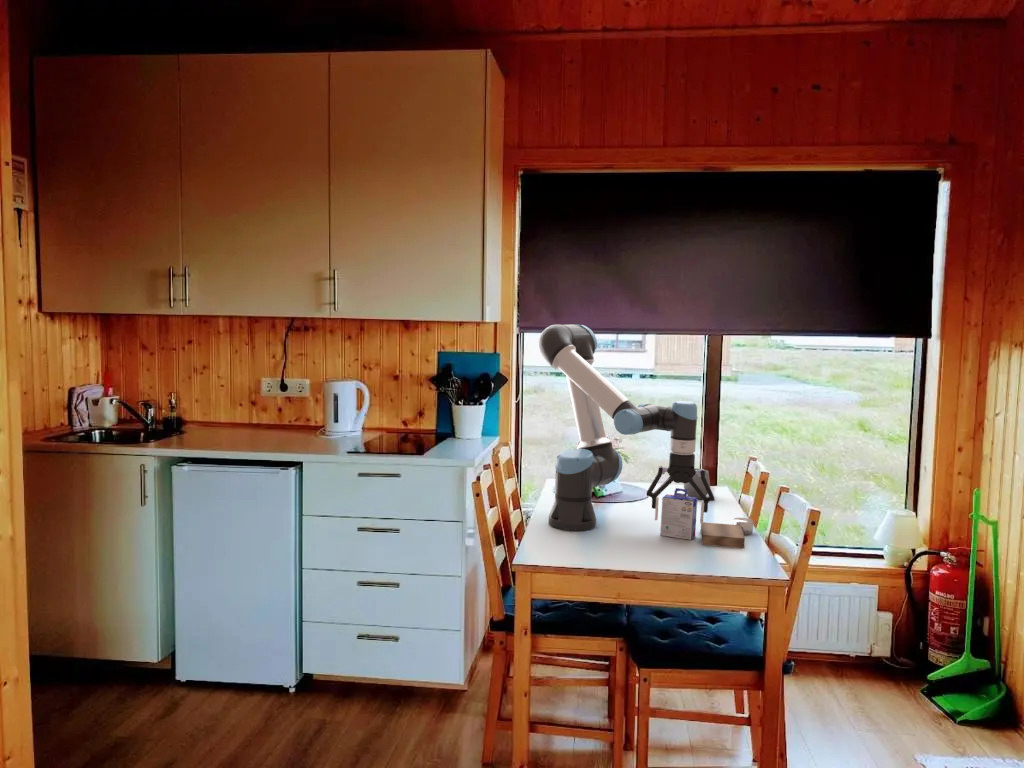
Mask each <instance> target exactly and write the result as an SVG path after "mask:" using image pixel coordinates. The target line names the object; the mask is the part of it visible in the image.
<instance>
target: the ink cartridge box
mask: <svg viewBox="0 0 1024 768" xmlns="http://www.w3.org/2000/svg"><path fill="white" fill-rule="evenodd" d="M681 492H683V493H681ZM697 508H698V499H697V498H695V497H688V495H687V489H684V488H677V487H675V490H674V494H665V495H664V496H663V497H662V499H661V516H660V517H661V520H660V534H659V535H660V536H663V537H669V538H676V539H683V540H689V541H691V540H693V539H694V538H695V537H696V531H697V530H696V529H697V528H696V526H697V511H698V509H697Z"/></svg>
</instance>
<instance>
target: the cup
mask: <svg viewBox="0 0 1024 768" xmlns="http://www.w3.org/2000/svg"><path fill="white" fill-rule="evenodd" d="M701 469H702V468H695V470H701ZM704 471H705V478H706V480H707V482H708V484H709V487H710V488H711V482H710V481H711V480H710V473H709V470H707V469H704ZM693 479H694V481H695V482H696V484H697V485H698V486H699V487H700V489H701V490H702V491H703V493H704V494H705V495H706V496H707V495H708V493H707V491H706V489H705V486H704V484H703V482H702V479H701V477H699V476H698V474H695V475H694V476H693ZM683 489H687V497H695V498H697V500H703V499H702V498H701V497H700V495H699V494H698V493H697V491H696V490H695V489H694V488H693V486H692V485H691V484H690V483H689V482H688V483H686V484H685V483H683Z"/></svg>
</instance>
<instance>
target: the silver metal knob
mask: <svg viewBox="0 0 1024 768" xmlns="http://www.w3.org/2000/svg"><path fill="white" fill-rule="evenodd" d="M732 525H741V528H742V531H743V534H744V536H751V535H753V532H754V520H753V519H752V518H747V517H734V518H733V523H732Z"/></svg>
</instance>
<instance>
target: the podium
mask: <svg viewBox="0 0 1024 768" xmlns="http://www.w3.org/2000/svg"><path fill="white" fill-rule="evenodd" d="M700 538H701V545H703V546H714V547H726V548H735V547H736V548H735V549H745V541H746V540H745V535H744V534H743V531H742V528H741V525H733V524H729V523H726V524H725V523H719V522H718V523H716V522H707V521H706V522H704V521H703V524H700Z"/></svg>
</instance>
